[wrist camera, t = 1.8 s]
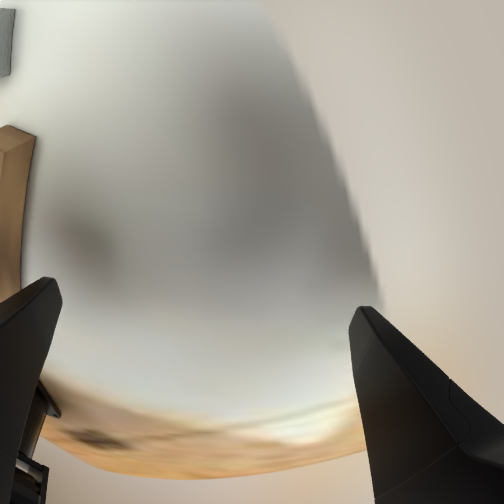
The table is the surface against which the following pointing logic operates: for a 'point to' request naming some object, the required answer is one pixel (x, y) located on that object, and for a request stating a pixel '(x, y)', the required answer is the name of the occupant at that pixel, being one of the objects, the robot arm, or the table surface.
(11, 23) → the grey bracket bar
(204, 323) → the table surface
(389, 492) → the robot arm
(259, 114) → the table surface
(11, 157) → the bar
